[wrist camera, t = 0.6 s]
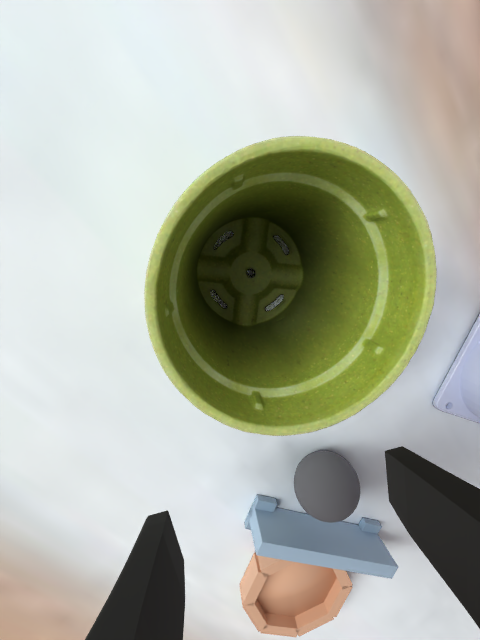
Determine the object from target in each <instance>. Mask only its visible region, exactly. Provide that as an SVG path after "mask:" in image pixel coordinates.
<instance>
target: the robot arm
mask: <svg viewBox="0 0 480 640" xmlns="http://www.w3.org/2000/svg"><path fill="white" fill-rule="evenodd" d="M447 403H448V405H447ZM433 405H434V407H436V408H437V409H438V410H441V411H444V412H447V413H450V414H453V415H456V416H459V417H462V418H465V419H468V420H471V421H474V422H477V423H480V314H479V316H478V318H477V320H476V322H475V324H474V326H473V327H472V329H471V331H470V333H469V335H468V337H467V339H466V341H465V342H464V344H463V346H462V348H461V350H460V352H459V354H458V355H457V357H456V359H455V361H454V363H453V365H452V367H451V369H450V370H449V372H448V374H447V376H446V378H445V380H444V382H443V383H442V385H441V387H440V389H439V391H438V393H437V395H436V397H435V398H434V401H433ZM446 405H447V406H446ZM385 459H386V470H387V482H388V493H389V501H390V503H391V505H392V506H393V508H394V510H395V512H396V513H397V515H398V517H399V518H400V520H401V522H402V523H403V525H404V526H405V528H406V530H407V531H408V533H409V534H410V536H411V537H412V538H413V540H414V541H415V542H416V544H417V545H418V546H419V548H420V549H421V551H422V552H423V553H424V555H425V556H426V557H427V559H428V560H429V561H430V563H431V564H432V565H433V566H434V568H435V569H436V570H437V572H438V573H439V574H440V576H441V577H442V578H443V580H444V581H445V582H446V584H447V585H448V586H449V588H450V589H451V590H452V592H453V593H454V594H455V596H456V597H457V598H458V600H459V601H460V602H461V604H462V605H463V606H464V607H465V609H466V610H467V611H468V613H469V614H470V616H471V617H472V619H473V620H474V621H475V623H476V624H477V626H478V627H479V628H480V489H479V488H477V487H475V486H473V485H471V484H469V483H467V482H465V481H464V480H462V479H460V478H458V477H456V476H454V475H453V474H451V473H449V472H447V471H445V470H444V469H442V468H440V467H438V466H436V465H435V464H433V463H431V462H429V461H428V460H426V459H424V458H422V457H421V456H419V455H417V454H415V453H413V452H412V451H410V450H408V449H406V448H404V447H398V448H394V449H391V450H387V451H385ZM184 611H185V577H184V559H183V556H182V553H181V549H180V546H179V543H178V540H177V537H176V534H175V531H174V528H173V525H172V521H171V518H170V515H169V512H168V511H164V512H161V513H157V514H153V515H150V516H148V517H147V519H146V521H145V523H144V525H143V527H142V529H141V532H140V534H139V536H138V538H137V540H136V543H135V545H134V547H133V549H132V551H131V553H130V555H129V558H128V560H127V562H126V564H125V566H124V568H123V570H122V572H121V574H120V576H119V578H118V580H117V582H116V584H115V586H114V588H113V590H112V592H111V593H110V595H109V597H108V599H107V601H106V603H105V605H104V606H103V608H102V610H101V612H100V614H99V616H98V617H97V619H96V621H95V623H94V625H93V626H92V628H91V630H90V632H89V634H88V635H87V637H86V639H85V640H183V627H184Z"/></svg>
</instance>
